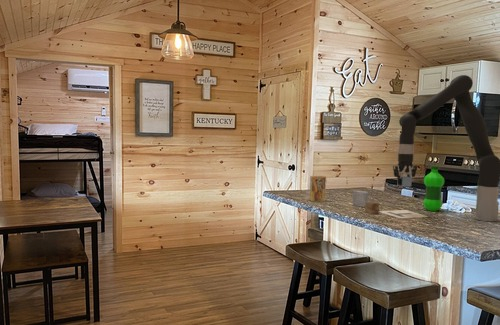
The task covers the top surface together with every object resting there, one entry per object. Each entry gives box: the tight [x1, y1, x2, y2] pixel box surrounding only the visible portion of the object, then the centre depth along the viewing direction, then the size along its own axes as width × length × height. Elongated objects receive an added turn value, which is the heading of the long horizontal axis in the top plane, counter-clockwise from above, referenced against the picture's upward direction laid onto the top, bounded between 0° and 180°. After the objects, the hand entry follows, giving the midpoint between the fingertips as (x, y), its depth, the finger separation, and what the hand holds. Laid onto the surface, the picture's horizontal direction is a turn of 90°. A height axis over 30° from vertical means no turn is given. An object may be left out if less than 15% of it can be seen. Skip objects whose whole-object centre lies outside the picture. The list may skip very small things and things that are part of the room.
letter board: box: [379, 209, 429, 219], centre depth 220 cm, size 18×18×1 cm
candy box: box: [309, 175, 327, 202], centre depth 259 cm, size 9×4×15 cm, turn 103°
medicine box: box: [352, 190, 370, 208], centre depth 243 cm, size 8×4×9 cm, turn 47°
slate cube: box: [396, 175, 413, 188], centre depth 219 cm, size 5×5×5 cm
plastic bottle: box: [422, 165, 445, 212], centre depth 235 cm, size 10×10×25 cm
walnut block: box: [364, 201, 380, 215], centre depth 221 cm, size 5×5×6 cm
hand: (404, 185), depth 219 cm, fingers closed on slate cube, 5 cm apart
